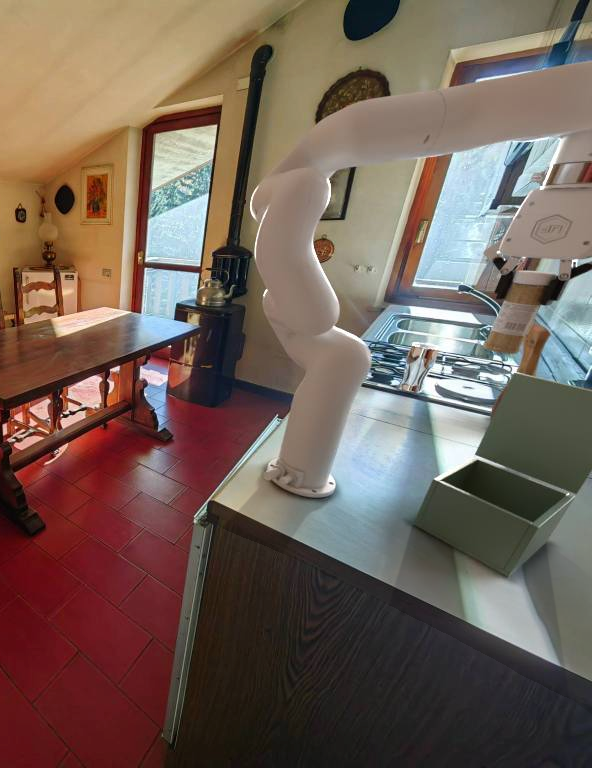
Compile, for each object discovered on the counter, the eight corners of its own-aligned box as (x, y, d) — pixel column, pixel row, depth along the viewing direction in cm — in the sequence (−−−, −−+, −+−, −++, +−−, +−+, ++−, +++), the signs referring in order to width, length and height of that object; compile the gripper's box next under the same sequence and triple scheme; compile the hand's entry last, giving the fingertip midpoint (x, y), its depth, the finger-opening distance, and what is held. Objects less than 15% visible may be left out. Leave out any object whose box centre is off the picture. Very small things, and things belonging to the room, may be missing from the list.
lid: (635, 401, 55) (645, 394, 58) (513, 372, 66) (526, 367, 68) (576, 494, 62) (587, 484, 64) (474, 454, 72) (487, 447, 74)
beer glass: (390, 386, 129) (406, 343, 123) (405, 384, 131) (421, 341, 125) (412, 395, 122) (430, 349, 117) (428, 392, 124) (446, 348, 119)
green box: (508, 577, 59) (538, 527, 55) (412, 524, 69) (432, 478, 66) (546, 542, 66) (575, 496, 62) (453, 498, 76) (474, 456, 72)
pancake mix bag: (480, 434, 100) (530, 328, 89) (482, 411, 112) (526, 316, 102) (517, 444, 96) (575, 334, 85) (515, 419, 108) (565, 320, 97)
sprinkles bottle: (520, 352, 68) (560, 272, 62) (515, 356, 65) (555, 274, 60) (485, 345, 71) (519, 269, 66) (478, 349, 69) (514, 270, 63)
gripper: (494, 180, 63) (449, 294, 70) (673, 171, 49) (595, 314, 56) (511, 184, 66) (466, 292, 73) (683, 176, 53) (608, 310, 60)
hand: (523, 300), depth 65 cm, fingers closed on sprinkles bottle, 4 cm apart
